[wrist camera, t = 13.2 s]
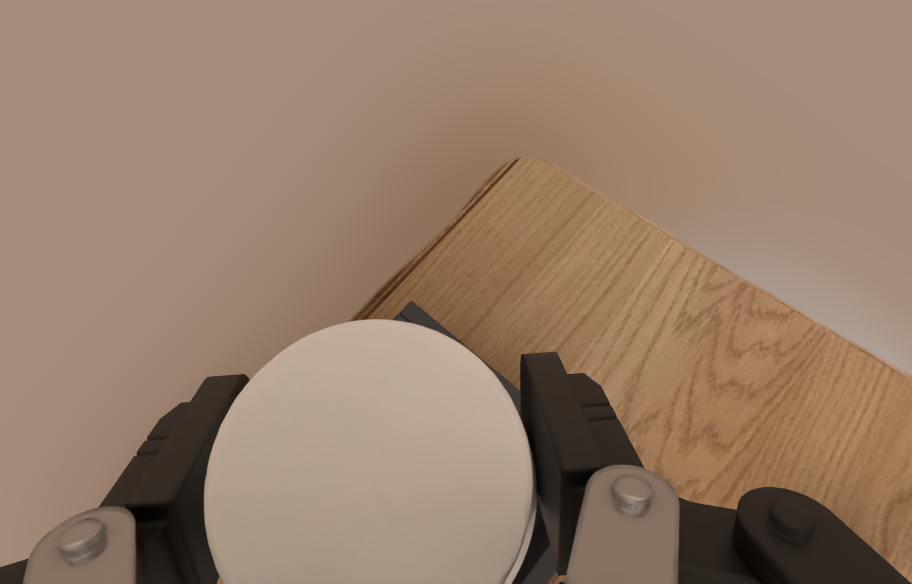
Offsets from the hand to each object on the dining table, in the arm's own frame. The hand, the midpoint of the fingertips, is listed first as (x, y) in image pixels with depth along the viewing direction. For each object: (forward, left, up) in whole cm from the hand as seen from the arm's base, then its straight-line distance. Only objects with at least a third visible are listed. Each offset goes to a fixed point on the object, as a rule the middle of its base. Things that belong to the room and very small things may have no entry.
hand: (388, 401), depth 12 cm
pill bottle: (0, -2, -6) cm, 7 cm away
